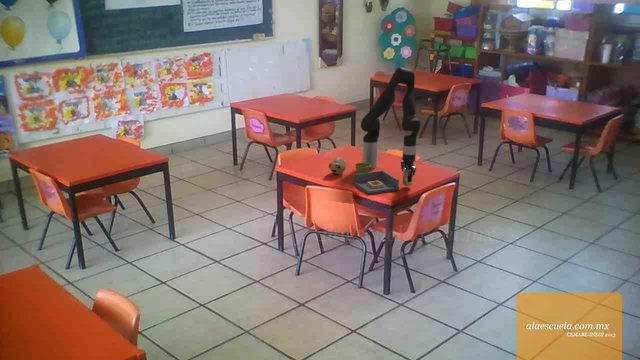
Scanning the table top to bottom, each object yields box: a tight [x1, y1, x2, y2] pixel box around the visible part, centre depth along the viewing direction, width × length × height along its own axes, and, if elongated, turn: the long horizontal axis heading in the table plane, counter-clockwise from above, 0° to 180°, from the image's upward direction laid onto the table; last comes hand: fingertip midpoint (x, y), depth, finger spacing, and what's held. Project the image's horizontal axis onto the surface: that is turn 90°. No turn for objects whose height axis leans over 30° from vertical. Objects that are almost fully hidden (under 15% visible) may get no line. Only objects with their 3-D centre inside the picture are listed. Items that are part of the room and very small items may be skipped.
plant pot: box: [354, 162, 370, 174], centre depth 364 cm, size 9×9×9 cm
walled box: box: [352, 170, 400, 196], centre depth 349 cm, size 20×20×6 cm
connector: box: [402, 169, 413, 187], centre depth 348 cm, size 4×4×9 cm
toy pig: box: [328, 156, 347, 176], centre depth 371 cm, size 10×12×11 cm
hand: (407, 180), depth 349 cm, fingers closed on connector, 4 cm apart
